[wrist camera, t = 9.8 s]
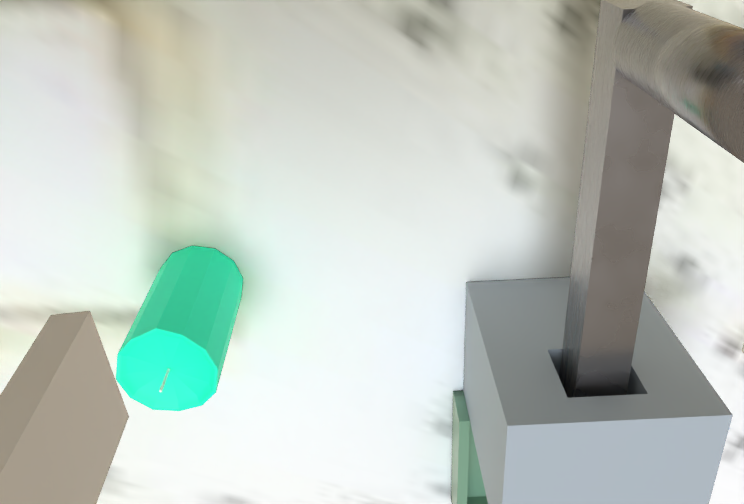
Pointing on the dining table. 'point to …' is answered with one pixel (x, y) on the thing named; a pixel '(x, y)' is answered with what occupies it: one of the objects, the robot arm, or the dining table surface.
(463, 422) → the tray
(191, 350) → the candle
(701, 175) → the dining table surface
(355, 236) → the dining table surface
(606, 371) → the l-shaped bracket
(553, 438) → the bearing block
